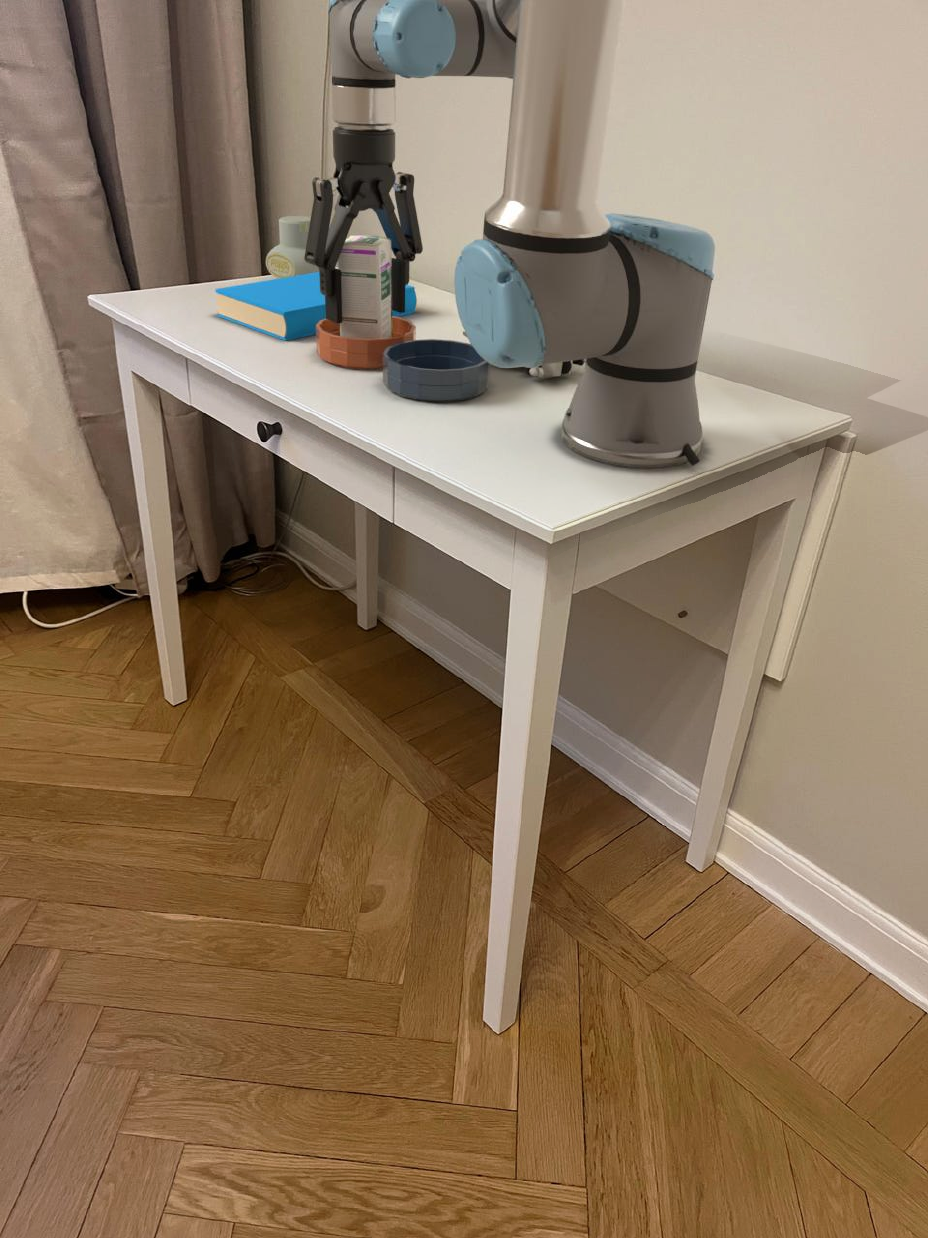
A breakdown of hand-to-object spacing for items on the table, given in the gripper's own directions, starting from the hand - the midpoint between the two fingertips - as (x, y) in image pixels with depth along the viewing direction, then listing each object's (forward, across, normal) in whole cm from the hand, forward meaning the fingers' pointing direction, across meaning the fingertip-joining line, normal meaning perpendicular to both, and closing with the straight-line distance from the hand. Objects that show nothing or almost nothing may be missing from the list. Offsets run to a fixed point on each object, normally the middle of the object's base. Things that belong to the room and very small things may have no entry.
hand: (366, 315), depth 130 cm
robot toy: (+6, -15, +16) cm, 23 cm away
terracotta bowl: (+5, 0, 0) cm, 5 cm away
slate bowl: (+5, 0, +15) cm, 16 cm away
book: (+6, -6, -21) cm, 23 cm away
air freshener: (+6, -15, -41) cm, 44 cm away
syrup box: (+5, 0, 0) cm, 5 cm away
